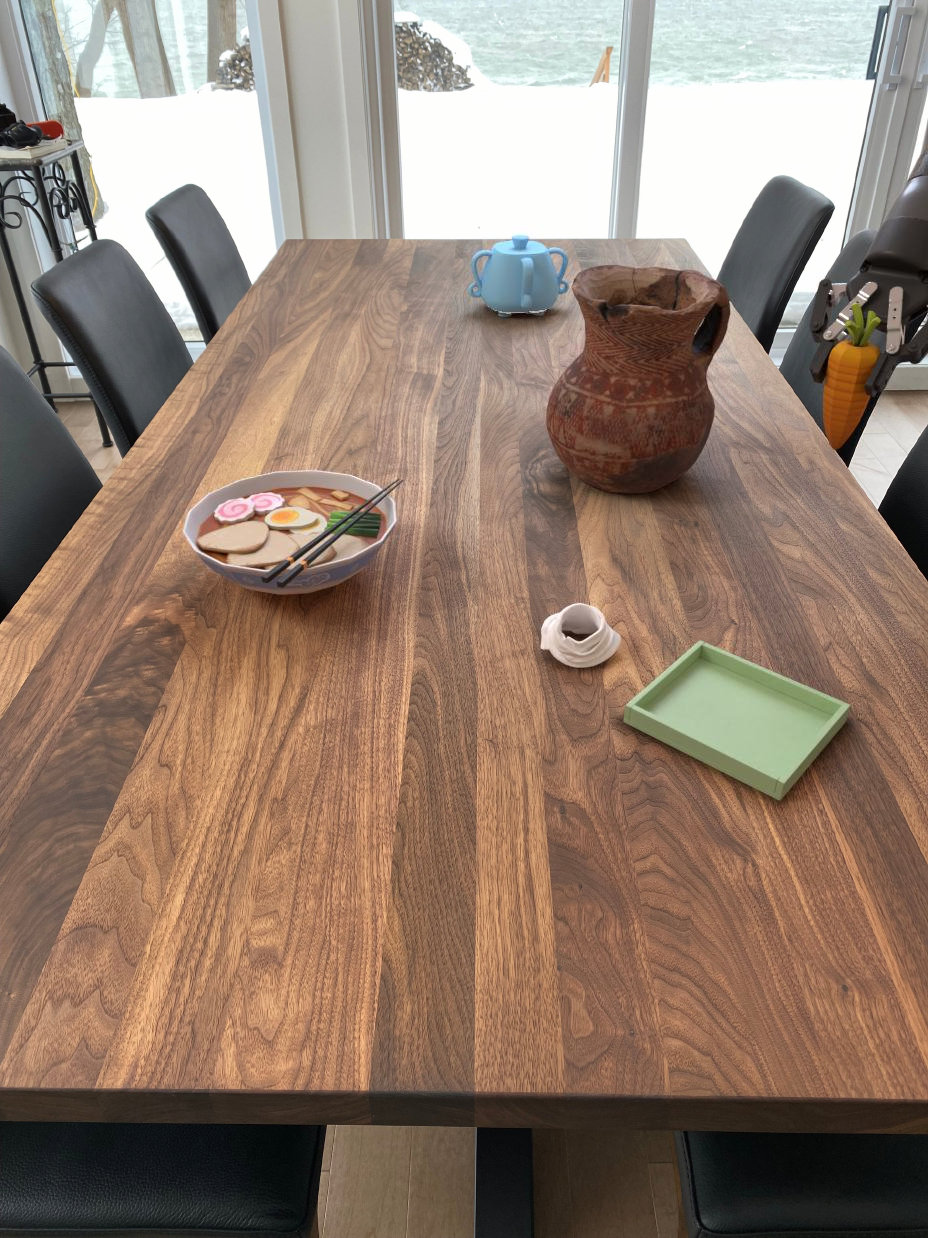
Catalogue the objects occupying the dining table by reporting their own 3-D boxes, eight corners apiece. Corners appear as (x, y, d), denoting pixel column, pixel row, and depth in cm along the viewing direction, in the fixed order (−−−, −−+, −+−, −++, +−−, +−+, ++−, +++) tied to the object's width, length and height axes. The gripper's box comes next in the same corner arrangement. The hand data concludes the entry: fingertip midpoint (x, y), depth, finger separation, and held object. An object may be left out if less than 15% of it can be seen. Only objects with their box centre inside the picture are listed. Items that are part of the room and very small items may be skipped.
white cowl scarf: (615, 639, 100) (623, 597, 98) (621, 674, 94) (629, 630, 92) (538, 631, 100) (543, 589, 98) (539, 666, 94) (545, 622, 92)
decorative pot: (577, 309, 190) (582, 235, 182) (522, 327, 180) (525, 251, 172) (514, 292, 199) (517, 222, 191) (459, 309, 189) (459, 235, 182)
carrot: (863, 460, 101) (898, 315, 92) (813, 458, 101) (843, 313, 93) (855, 441, 105) (888, 299, 96) (807, 438, 105) (835, 298, 97)
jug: (639, 526, 118) (664, 319, 104) (510, 472, 130) (516, 281, 116) (736, 468, 131) (769, 278, 117) (610, 425, 143) (626, 247, 129)
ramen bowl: (281, 505, 122) (274, 445, 118) (441, 548, 114) (440, 484, 109) (141, 602, 104) (126, 535, 99) (318, 662, 95) (311, 591, 91)
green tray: (846, 722, 88) (850, 704, 87) (779, 801, 80) (784, 783, 79) (696, 656, 96) (699, 639, 95) (623, 722, 88) (625, 705, 87)
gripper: (843, 204, 99) (768, 351, 98) (991, 224, 91) (910, 384, 90) (853, 248, 105) (783, 387, 105) (992, 271, 97) (917, 421, 97)
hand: (842, 385), depth 97 cm, fingers closed on carrot, 5 cm apart
